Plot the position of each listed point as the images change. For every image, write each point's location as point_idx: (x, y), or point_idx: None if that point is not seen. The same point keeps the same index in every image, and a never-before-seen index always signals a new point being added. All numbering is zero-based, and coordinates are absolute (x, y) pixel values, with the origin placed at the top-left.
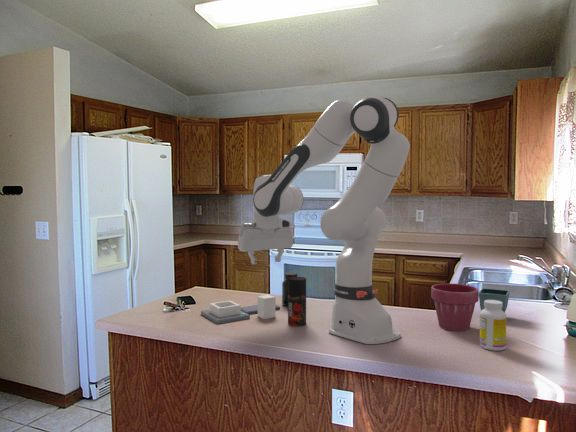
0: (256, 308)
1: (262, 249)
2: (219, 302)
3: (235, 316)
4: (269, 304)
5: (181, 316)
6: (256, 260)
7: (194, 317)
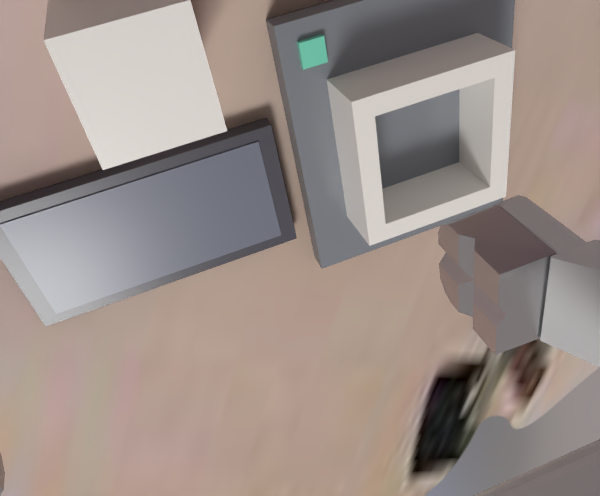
0: (177, 205)
1: (562, 479)
2: (446, 209)
3: (379, 18)
4: (117, 2)
5: (578, 176)
6: (493, 251)
7: (539, 143)
